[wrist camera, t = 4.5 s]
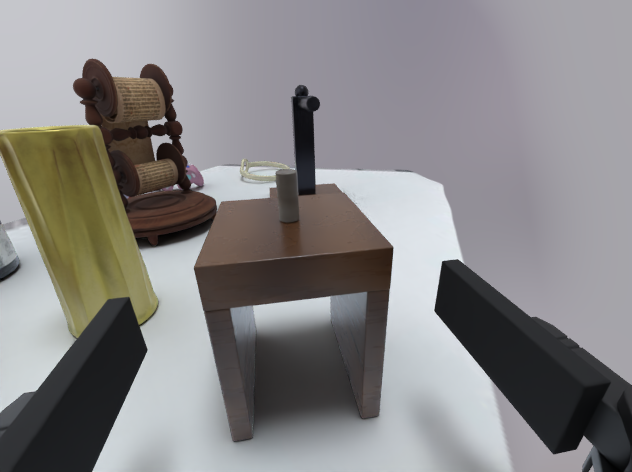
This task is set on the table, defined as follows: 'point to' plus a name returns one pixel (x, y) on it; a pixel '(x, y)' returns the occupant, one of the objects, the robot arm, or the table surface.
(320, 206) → the wooden stand with peg
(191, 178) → the video game controller
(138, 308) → the vase
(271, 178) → the headband
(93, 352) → the robot arm
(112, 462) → the table surface
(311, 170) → the rack
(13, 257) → the ink bottle
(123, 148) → the scroll
